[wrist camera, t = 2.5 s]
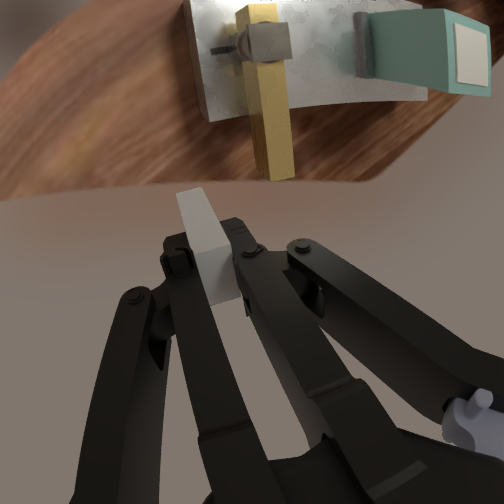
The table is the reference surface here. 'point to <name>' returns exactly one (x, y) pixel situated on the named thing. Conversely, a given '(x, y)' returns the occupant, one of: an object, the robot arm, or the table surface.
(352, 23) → the white base platform
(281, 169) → the hammer with yellow handle
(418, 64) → the mint green box
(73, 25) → the table surface
